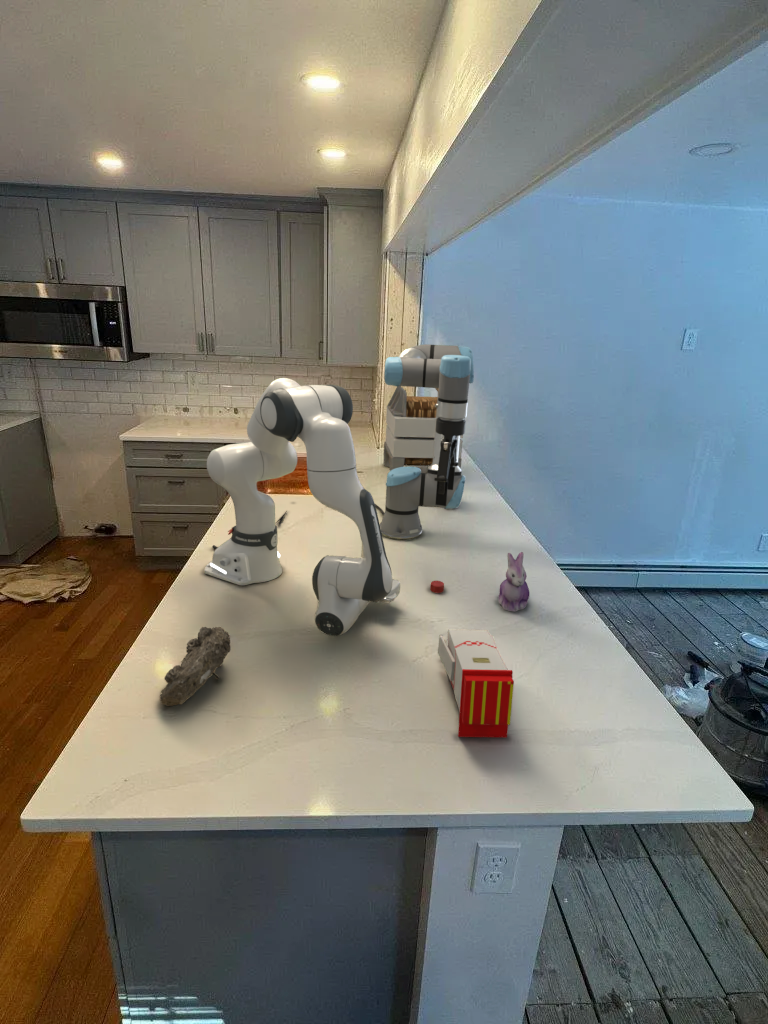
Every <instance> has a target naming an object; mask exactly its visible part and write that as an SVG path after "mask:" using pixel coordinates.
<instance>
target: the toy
mask: <svg viewBox="0 0 768 1024" xmlns="http://www.w3.org/2000/svg"><path fill="white" fill-rule="evenodd" d="M446 640H447V643H446V641H445V639H444V636H443V635H442V634H439V637H438V646H437V656H438V657H439V659H440V661H441V663H442V666H443V668H444V670H445V672H446V674H447V677H448V679H449V681H450V684H451V687H452V690H453V693H454V697H455V701H456V705H457V708H458V711H459V714H458V715H459V716H458V730H457V731H458V732H457V737H458V738H508V731H509V726H510V725H511V717H512V707H513V697H514V696H513V695H514V684H515V680H514V679H513V673H514V671H513V670H512V669H508V667H507V665H506V662H505V661H504V659H503V658H502V655H501V653H500V651H499V649H498V647H497V643H496V639H495V637H494V635H493V634H491V632H490V631H489V629H467V628H466V629H465V628H463V629H461V628H460V629H459V628H448V630H447V639H446Z"/></svg>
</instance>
